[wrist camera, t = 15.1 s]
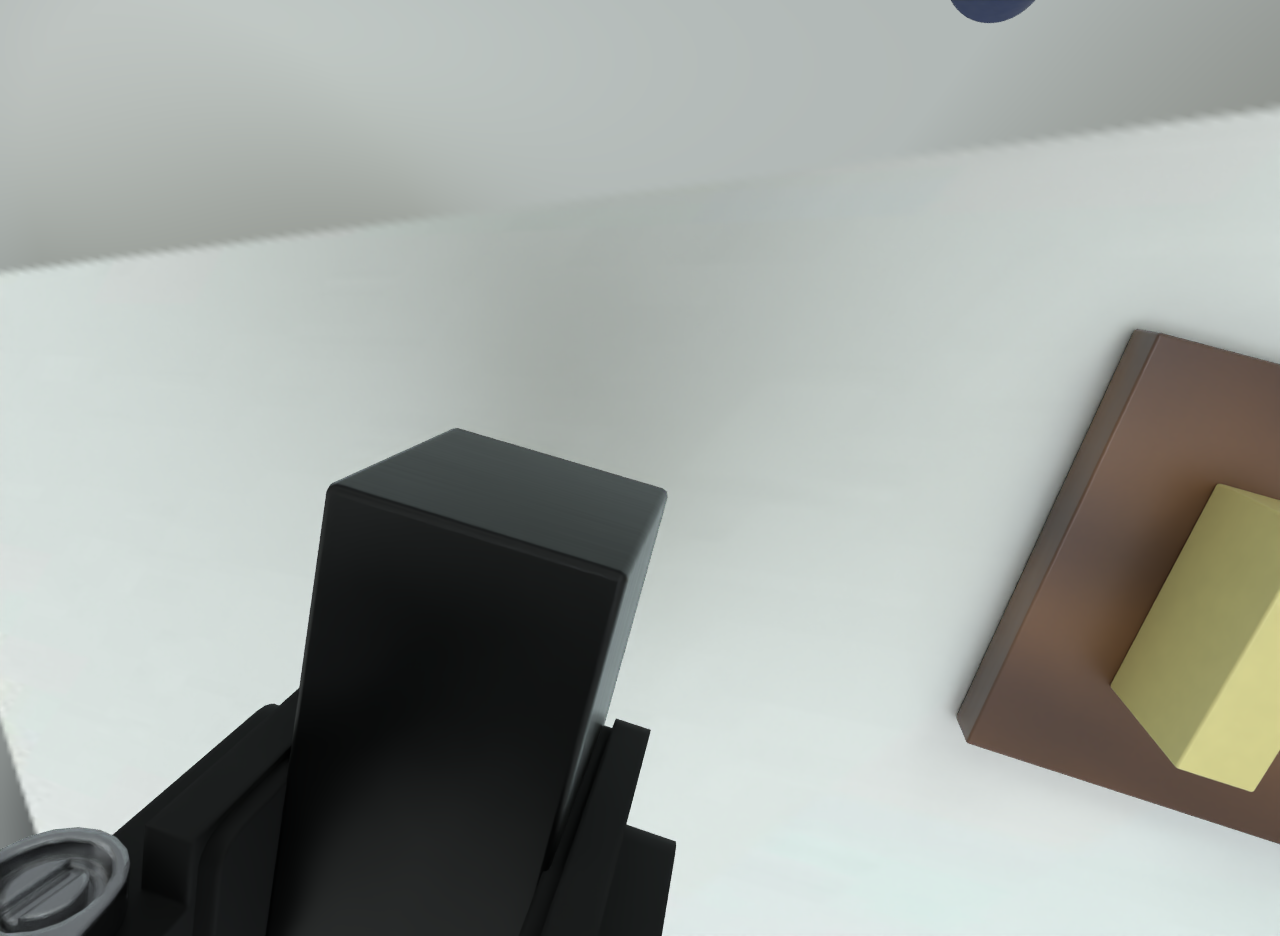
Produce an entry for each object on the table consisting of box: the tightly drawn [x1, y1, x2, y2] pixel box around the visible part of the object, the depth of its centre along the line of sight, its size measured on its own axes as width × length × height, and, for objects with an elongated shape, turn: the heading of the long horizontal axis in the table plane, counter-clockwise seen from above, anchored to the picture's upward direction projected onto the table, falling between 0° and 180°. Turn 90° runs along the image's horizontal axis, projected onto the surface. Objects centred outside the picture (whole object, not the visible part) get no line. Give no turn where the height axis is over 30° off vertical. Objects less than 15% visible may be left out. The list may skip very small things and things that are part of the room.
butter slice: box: [1111, 484, 1280, 792], centre depth 20 cm, size 7×2×4 cm, turn 166°
